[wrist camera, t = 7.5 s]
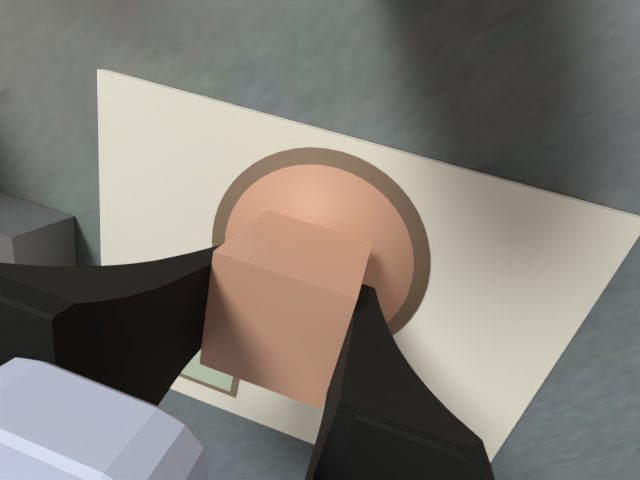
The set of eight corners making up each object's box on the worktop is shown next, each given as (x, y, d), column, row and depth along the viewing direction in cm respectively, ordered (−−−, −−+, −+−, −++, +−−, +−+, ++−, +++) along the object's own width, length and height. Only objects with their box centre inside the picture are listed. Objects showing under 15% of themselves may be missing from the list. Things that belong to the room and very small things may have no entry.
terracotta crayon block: (343, 331, 14) (321, 409, 11) (251, 299, 15) (199, 363, 11) (372, 242, 13) (357, 298, 9) (267, 209, 13) (213, 251, 10)
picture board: (462, 490, 18) (464, 505, 17) (111, 355, 20) (101, 363, 20) (638, 215, 12) (651, 222, 11) (109, 70, 14) (95, 68, 14)
